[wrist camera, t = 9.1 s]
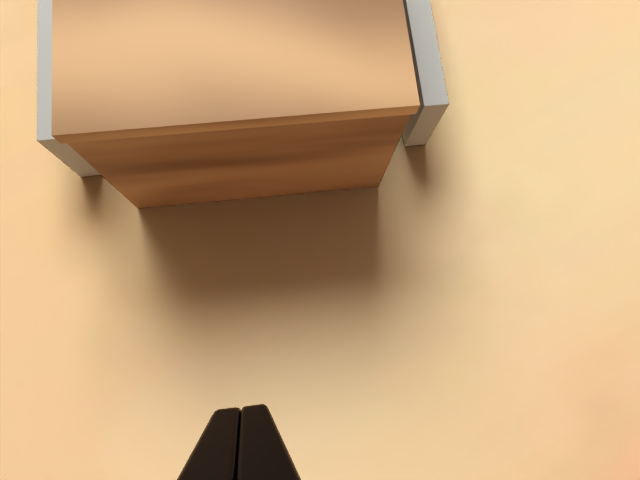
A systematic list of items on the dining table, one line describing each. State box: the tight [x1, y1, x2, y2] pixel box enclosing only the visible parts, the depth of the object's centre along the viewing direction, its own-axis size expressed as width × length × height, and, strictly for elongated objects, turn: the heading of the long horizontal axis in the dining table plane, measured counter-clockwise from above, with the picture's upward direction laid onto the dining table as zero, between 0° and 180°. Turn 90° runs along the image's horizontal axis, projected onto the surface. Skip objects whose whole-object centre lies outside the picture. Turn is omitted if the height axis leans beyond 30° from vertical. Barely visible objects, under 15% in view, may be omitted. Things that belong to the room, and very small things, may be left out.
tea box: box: [51, 0, 420, 208], centre depth 21 cm, size 10×11×8 cm
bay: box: [37, 0, 449, 177], centre depth 23 cm, size 10×16×4 cm, turn 97°
